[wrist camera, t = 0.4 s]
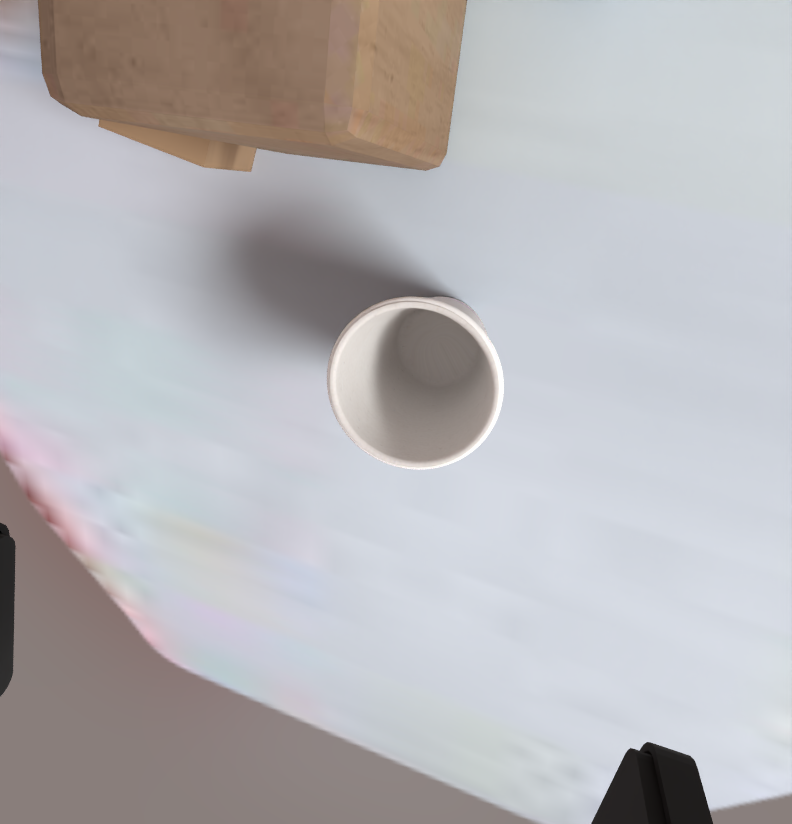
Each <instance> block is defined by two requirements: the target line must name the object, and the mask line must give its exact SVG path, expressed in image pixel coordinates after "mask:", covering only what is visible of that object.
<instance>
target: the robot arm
mask: <svg viewBox="0 0 792 824" xmlns="http://www.w3.org/2000/svg"><path fill="white" fill-rule="evenodd" d="M14 590H15V541H14V540H13V538H11V537H10V535H9V530H8V528H7V526H6V525H4V524H2V523H0V696H1V695H2V694H3V693H4V691H5V690H6V688H7V687H8V685H9V682H10V680H11V678H12V674H13V644H14V643H13V642H14V592H15V591H14ZM591 824H713V822H712V818H711V815H710V811H709V808H708V804H707V800H706V797H705V793H704V790H703V786H702V783H701V779H700V776H699V772H698V769H697V766H696V763H695V761H694V759H693V758H692V757H691V756H689V755H686V754H683V753H680V752H677V751H674V750H671V749H668V748H665V747H662V746H659V745H656V744H653V743H649V742H647V743H645V744H644V745H643V746H642V748H641V749H640V751H638V750H635V749H632V748H630V749H629V750H628V751H627V752H626V754H625V756H624V758H623V760H622V762H621V764H620V766H619V768H618V770H617V772H616V774H615V776H614V778H613V780H612V782H611V784H610V786H609V788H608V791H607V793H606V795H605V797H604V799H603V801H602V803H601V805H600V807H599V809H598V811H597V813H596V815H595V817H594V819H593V821H592V823H591Z"/></svg>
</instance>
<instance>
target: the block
mask: <svg viewBox="0 0 792 824" xmlns="http://www.w3.org/2000/svg"><path fill="white" fill-rule="evenodd" d="M466 4H467V0H38V8H39V25H40V42H41V58H42V74H43V76H44V79H45V82H46V85H47V87H48V90H49V93H50V96H51V97H52V98H54V99H55V100H57V101H58V102H59V103H61V104H62V105H64V106H66V107H67V108H69V109H71V110H72V111H74V112H76V113H77V114H79V115H81V116H84V117H89V118H95V119H100V120H106V121H111V122H117V123H122V124H128V125H133V126H139V127H144V128H150V129H155V130H160V131H166V132H171V133H177V134H182V135H188V136H193V137H199V138H204V139H210V140H215V141H220V142H226V143H231V144H237V145H242V146H248V147H253V148H259V149H264V150H270V151H275V152H281V153H286V154H294V155H302V156H310V157H318V158H326V159H335V160H343V161H351V162H359V163H368V164H376V165H384V166H392V167H400V168H409V169H417V170H425V171H426V170H430V169H433V168H436V167H439V166H440V164H441V163H442V161H443V159H444V157H445V155H446V153H447V146H448V139H449V131H450V124H451V116H452V109H453V101H454V94H455V86H456V79H457V71H458V64H459V56H460V49H461V41H462V34H463V26H464V19H465V11H466Z"/></svg>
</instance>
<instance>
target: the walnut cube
mask: <svg viewBox="0 0 792 824" xmlns="http://www.w3.org/2000/svg"><path fill="white" fill-rule="evenodd" d="M99 127H102V128H104V129H107V130H109V131H112V132H114V133H117V134H120V135H122V136H125V137H127V138H130V139H132V140H135V141H138V142H140V143H143V144H145V145H148V146H150V147H153V148H156V149H158V150H161V151H163V152H166V153H168V154H171V155H174V156H176V157H179V158H181V159H184V160H186V161H189V162H192V163H194V164H197V165H199V166H202V167H206V168H216V169H227V170H237V171H248V172H251V169H252V165H253V161H254V157H255V153H256V149H257V148H253V147H248V146H242V145H237V144H231V143H226V142H220V141H215V140H210V139H204V138H199V137H193V136H188V135H182V134H177V133H171V132H166V131H160V130H155V129H150V128H144V127H139V126H133V125H128V124H122V123H117V122H111V121H106V120H100V119H99Z"/></svg>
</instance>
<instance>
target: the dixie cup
mask: <svg viewBox="0 0 792 824" xmlns="http://www.w3.org/2000/svg"><path fill="white" fill-rule="evenodd" d="M327 388H328V395H329V400H330V403H331V407H332V409H333V412H334V414H335V416H336V419H337V420H338V422H339V424H340V426H341V427H342V429H343V430H344V431H345V433H346V434H347V435H348V437H349V438H350V439H351V440H352V441H353V442H354V443H355V444H356V445H357V446H358V447H360V448H361V449H362V450H363V451H365V452H366V453H368V454H369V455H371V456H372V457H374V458H376V459H378V460H380V461H382V462H384V463H387V464H390V465H393V466H396V467H401V468H406V469H432V468H438V467H442V466H445V465H448V464H451V463H454V462H456V461H458V460H460V459H462V458H463V457H465V456H467V455H468V454H470V453H471V452H472V451H473V450H475V449H476V448H477V447H478V446H479V445H480V444H481V443H482V442H483V441H484V440H485V438H486V437H487V436H488V435H489V433H490V432H491V430H492V428H493V427H494V425H495V423H496V421H497V418H498V416H499V413H500V410H501V406H502V401H503V393H504V381H503V372H502V367H501V364H500V360H499V357H498V355H497V352H496V350H495V348H494V346H493V344H492V342H491V341H490V339H489V338H488V335H487V332H486V329H485V327H484V325H483V323H482V321H481V319H480V317H479V316H478V315H477V313H476V312H475V311H474V310H473V309H472V308H471V307H469V306H468V305H467V304H465V303H463V302H461V301H459V300H457V299H454V298H450V297H442V296H438V297H430V298H425V297H415V296H408V297H398V298H392V299H388V300H385V301H382V302H379V303H377V304H375V305H372V306H371V307H369V308H367V309H365V310H364V311H362V312H361V313H360V314H358V315H357V316H356V317H355V318H354V319H352V320H351V321H350V322H349V324H348V325H347V326H346V327H345V328H344V330H343V331H342V332H341V334H340V335H339V337H338V339H337V341H336V342H335V345H334V347H333V349H332V352H331V355H330V359H329V363H328V370H327Z"/></svg>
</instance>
